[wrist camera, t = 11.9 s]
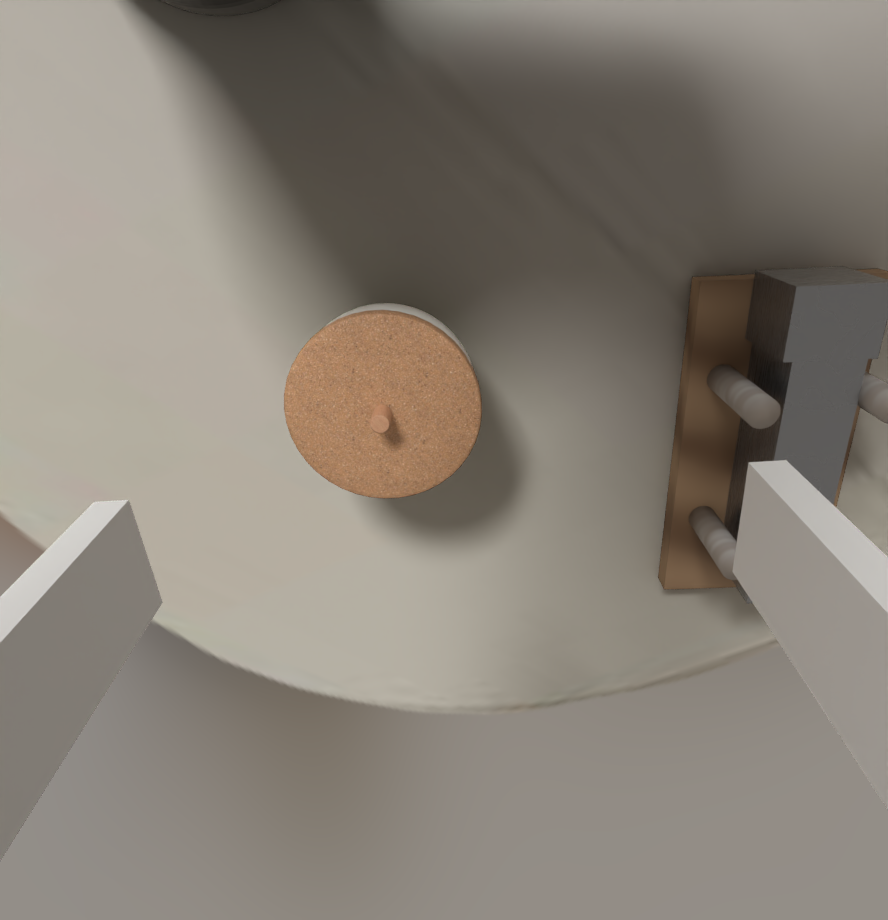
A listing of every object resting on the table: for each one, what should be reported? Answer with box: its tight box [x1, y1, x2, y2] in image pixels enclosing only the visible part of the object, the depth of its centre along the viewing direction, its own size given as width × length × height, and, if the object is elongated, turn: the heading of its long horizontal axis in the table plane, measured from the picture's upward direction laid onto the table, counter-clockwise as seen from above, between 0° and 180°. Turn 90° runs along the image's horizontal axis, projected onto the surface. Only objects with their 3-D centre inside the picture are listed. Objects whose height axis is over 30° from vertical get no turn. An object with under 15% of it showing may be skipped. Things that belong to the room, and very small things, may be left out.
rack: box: [658, 269, 888, 589], centre depth 41 cm, size 22×11×8 cm, turn 3°
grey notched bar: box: [724, 266, 888, 603], centre depth 40 cm, size 20×5×5 cm, turn 3°
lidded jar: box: [284, 303, 482, 498], centre depth 38 cm, size 11×11×9 cm
